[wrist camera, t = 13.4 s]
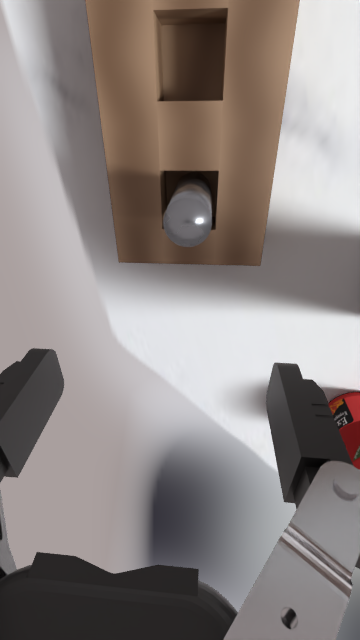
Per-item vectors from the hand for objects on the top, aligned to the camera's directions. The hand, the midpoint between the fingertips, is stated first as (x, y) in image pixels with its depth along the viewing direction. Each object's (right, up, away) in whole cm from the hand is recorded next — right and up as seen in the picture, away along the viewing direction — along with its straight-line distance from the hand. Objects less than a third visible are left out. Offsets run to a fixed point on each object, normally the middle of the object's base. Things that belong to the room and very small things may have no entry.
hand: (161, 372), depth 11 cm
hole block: (+2, +18, +15) cm, 24 cm away
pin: (+2, +14, +17) cm, 22 cm away
